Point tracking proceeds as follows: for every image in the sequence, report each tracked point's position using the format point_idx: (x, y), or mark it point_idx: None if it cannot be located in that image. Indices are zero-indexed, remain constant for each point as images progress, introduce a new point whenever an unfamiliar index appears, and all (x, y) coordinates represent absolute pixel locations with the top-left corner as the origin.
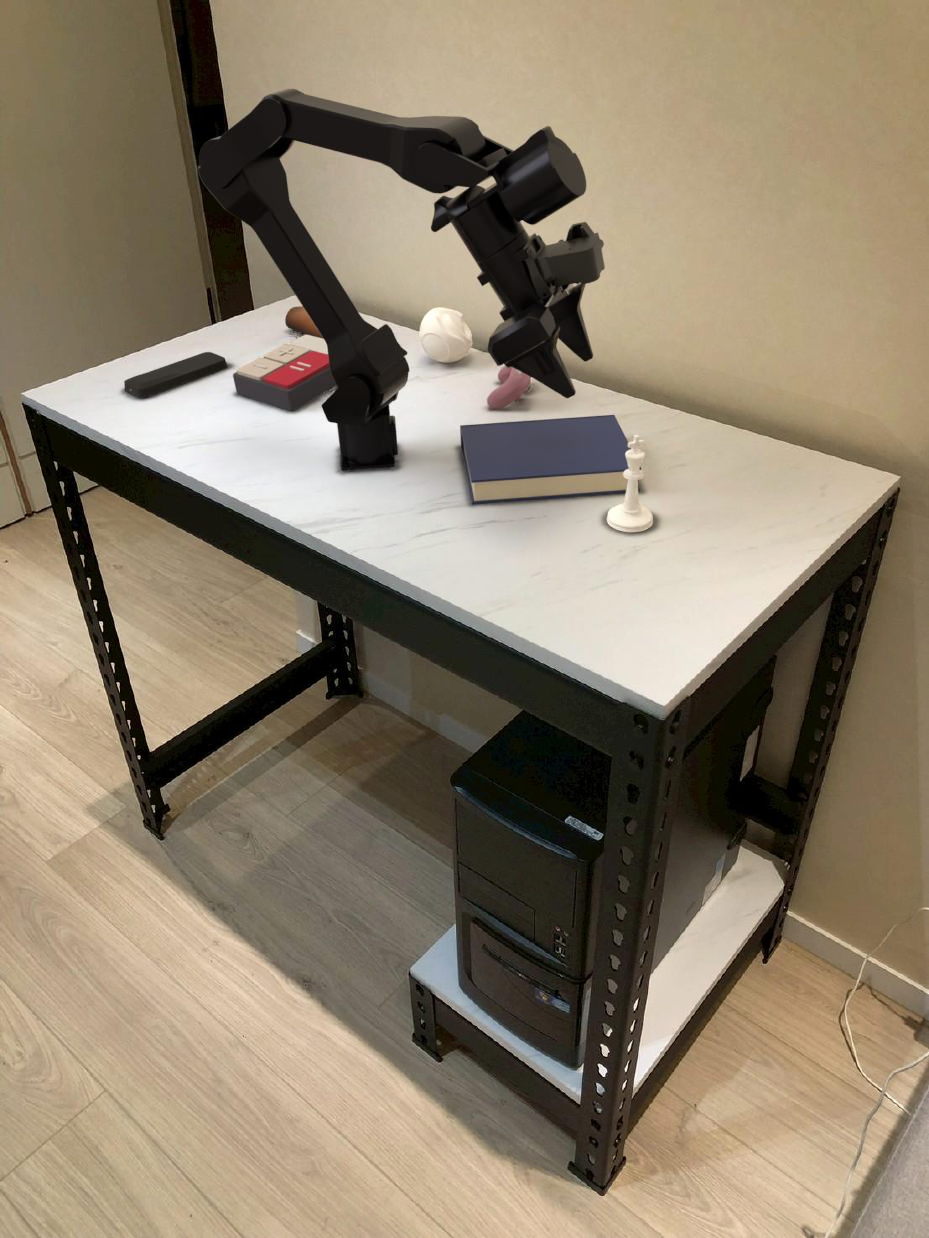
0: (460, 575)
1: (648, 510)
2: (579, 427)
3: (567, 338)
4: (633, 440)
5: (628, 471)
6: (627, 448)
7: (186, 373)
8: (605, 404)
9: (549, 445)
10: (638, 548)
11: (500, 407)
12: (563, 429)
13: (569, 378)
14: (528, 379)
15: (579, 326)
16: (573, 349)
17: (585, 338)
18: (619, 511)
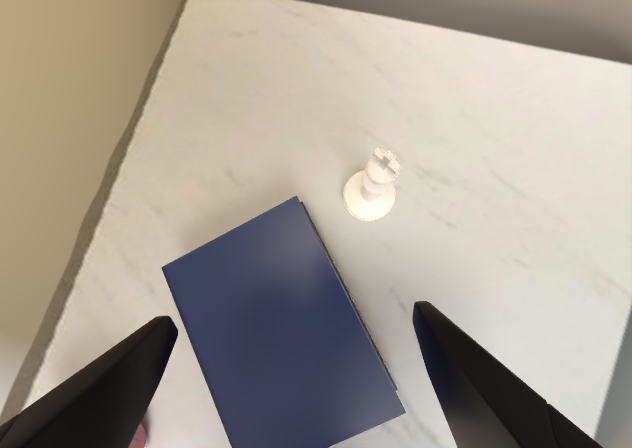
0: (562, 349)
1: (355, 176)
2: (208, 303)
3: (111, 444)
4: (389, 163)
5: (379, 185)
6: (249, 226)
7: None
8: (105, 295)
9: (270, 330)
10: (421, 172)
11: (143, 429)
12: (219, 323)
13: (451, 341)
14: None
15: (45, 439)
16: (151, 390)
17: (108, 372)
18: (375, 204)
